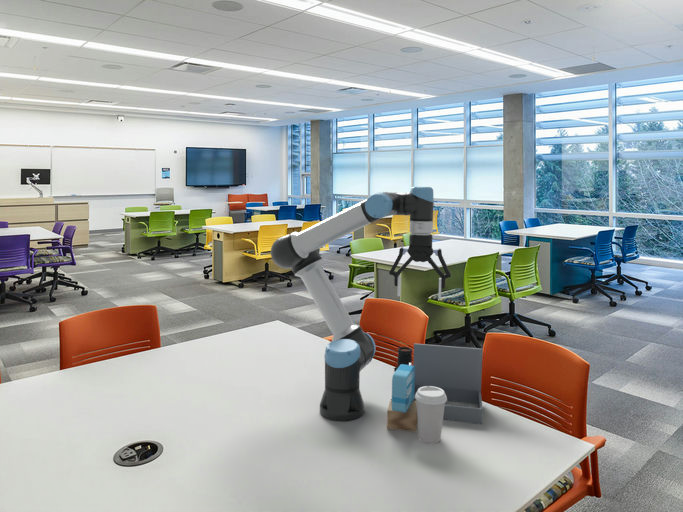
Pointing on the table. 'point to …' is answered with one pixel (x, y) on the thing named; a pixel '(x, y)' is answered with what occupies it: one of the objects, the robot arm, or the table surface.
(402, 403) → the light blue box
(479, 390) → the case
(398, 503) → the table surface
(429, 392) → the coffee cup
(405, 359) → the scope
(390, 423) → the stand
